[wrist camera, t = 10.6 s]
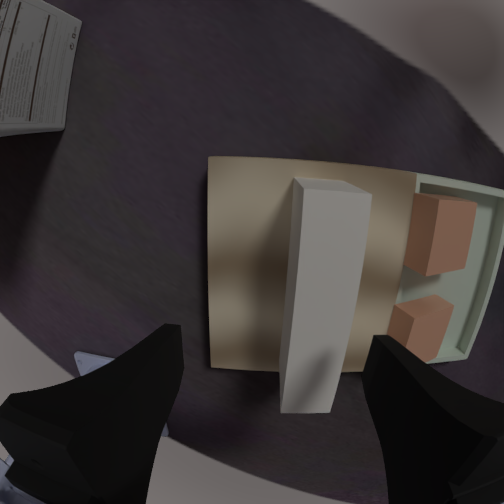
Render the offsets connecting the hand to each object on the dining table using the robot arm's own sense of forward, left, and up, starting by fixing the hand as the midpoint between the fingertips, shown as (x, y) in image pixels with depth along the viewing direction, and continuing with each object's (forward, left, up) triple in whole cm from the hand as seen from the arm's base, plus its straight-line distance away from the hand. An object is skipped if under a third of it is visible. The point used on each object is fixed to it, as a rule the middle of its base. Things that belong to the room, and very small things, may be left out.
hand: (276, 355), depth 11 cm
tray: (0, -13, -10) cm, 16 cm away
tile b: (+3, -10, -9) cm, 14 cm away
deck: (0, -2, -10) cm, 10 cm away
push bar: (0, -2, -8) cm, 8 cm away
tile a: (-4, -10, -9) cm, 14 cm away
